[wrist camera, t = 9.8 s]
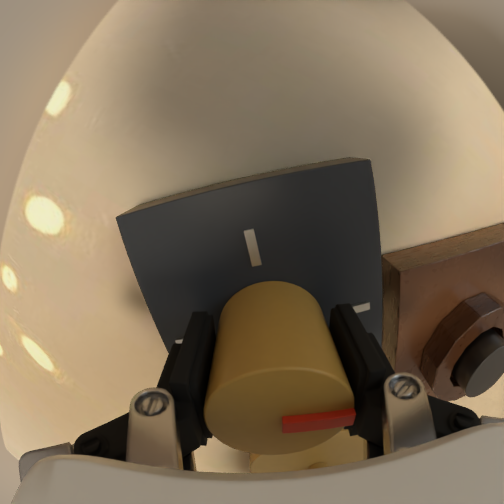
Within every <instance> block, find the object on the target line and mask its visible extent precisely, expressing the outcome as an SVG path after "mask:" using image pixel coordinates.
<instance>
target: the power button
mask: <svg viewBox="0 0 504 504" xmlns="http://www.w3.org/2000/svg"><path fill="white" fill-rule="evenodd" d="M503 373H504V339H503V338H502V337H501V336H500V335H499V334H498V333H497V332H496V331H495V330H494V329H488V330H486V331H484V332H482V333H481V334H480V335H479V336H478V337H477V338H475V339H474V340H473V341H472V342H471V343H470V344H469V345H468V346H467V347H466V348H465V350H464V351H463V353H462V354H461V356H460V357H459V359H458V360H457V361H456V363H455V364H454V366H453V370H452V375H453V377H454V378H455V380H456V381H457V383H458V384H459V385H460V387H461V388H462V390H463V391H464V393H465V394H466V396H468V397H475V396H478V395H480V394H482V393H484V392H485V391H486V390H488V389H489V388H490V387H491V386H492V385H494V384H495V383H496V381H497V380H498V379H499V378H500V377H501V376H502V374H503Z"/></svg>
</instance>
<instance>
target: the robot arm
mask: <svg viewBox="0 0 504 504" xmlns="http://www.w3.org/2000/svg"><path fill="white" fill-rule="evenodd" d="M329 330H330V333H331V335H332V338H333V341H334V343H335V346H336V349H337V351H338V354H339V357H340V359H341V362H342V365H343V367H344V370H345V373H346V375H347V378H348V381H349V384H350V387H351V389H352V392H353V396H354V409H355V412H356V417H355V420H354V423H353V425H350V426H345V427H344V429H348V431H349V434H350V436H355V435H358V436H359V437H361V438H363V439H364V441H363V460H362V461H357V462H352V463H347V464H341V465H336V466H329V467H323V468H315V469H307V470H298V471H286V472H270V473H213V472H197V470H196V464H195V457H194V450H196V449H197V448H199V447H200V445H205V446H206V444H207V438H212V436H213V434H212V433H211V432H210V431H209V429H208V428H207V426H206V424H205V421H204V417H203V408H204V402H205V397H206V391H207V385H208V380H209V374H210V369H211V363H212V357H213V352H214V347H215V341H216V333H215V326H214V319H213V315H208V312H207V311H194V312H192V315H191V318H190V321H189V324H188V326H187V329H186V332H185V335H184V338H183V341H182V343H174V344H173V345H172V347H171V350H170V352H169V355H168V358H167V360H166V363H165V366H164V369H163V371H162V374H161V377H160V379H159V382H158V385H157V388H147V389H144V390H142V391H140V392H138V393H137V394H136V395H135V396H134V397H133V398H132V400H131V403H130V410H129V413H127V414H125V415H122V416H120V417H118V418H116V419H114V420H112V421H110V422H108V423H106V424H103V425H101V426H99V427H97V428H95V429H92V430H90V431H88V432H86V433H84V434H82V435H80V436H79V437H78V438H77V440H76V441H75V443H74V444H73V445H71V444H70V443H69V442H68V443H64V444H60V445H56V446H51V447H47V448H42V449H38V450H33V451H29V452H26V453H25V454H24V455H22V456H21V458H20V460H19V472H20V480H21V484H20V486H19V488H18V489H17V492H16V494H15V496H14V498H13V500H12V502H11V504H504V419H503V418H495V417H488V416H481V418H478V416H477V415H476V413H474V412H473V411H472V410H470V409H468V408H465V407H462V406H459V405H456V404H453V403H450V402H447V401H444V400H441V399H438V398H436V397H433V396H430V395H427V393H426V390H425V386H424V384H423V382H422V380H421V379H420V378H419V377H417V376H415V375H414V374H410V373H406V372H399V373H395V371H394V370H393V368H392V366H391V364H390V362H389V361H388V359H387V357H386V355H385V353H384V352H383V350H382V348H381V346H380V345H379V343H378V341H377V339H376V338H375V336H374V334H373V333H371V332H370V333H367V332H366V330H365V328H364V326H363V324H362V323H361V321H360V319H359V317H358V316H357V314H356V312H355V310H354V309H353V307H352V305H351V304H350V303H346V304H336V306H335V308H332V309H331V312H330V323H329Z"/></svg>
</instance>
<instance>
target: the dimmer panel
mask: <svg viewBox="0 0 504 504" xmlns="http://www.w3.org/2000/svg"><path fill="white" fill-rule="evenodd" d="M116 221H117V224H118V227H119V230H120V233H121V236H122V239H123V242H124V245H125V248H126V251H127V254H128V257H129V259H130V262H131V265H132V268H133V270H134V273H135V276H136V278H137V281H138V284H139V286H140V289H141V291H142V294H143V296H144V299H145V301H146V304H147V306H148V308H149V311H150V313H151V315H152V318H153V320H154V322H155V325H156V327H157V329H158V331H159V334H160V336H161V338H162V340H163V342H164V345H165V347H166V349H167V351H168V353H169V352H170V350H171V347H172V345H173V344H174V343H182V341H183V338H184V335H185V332H186V329H187V326H188V324H189V321H190V318H191V315H192V312H194V311H207V312H208V315H213V319H214V326H215V333H216V336H217V330H218V325H219V320H220V316H221V313H222V310H223V308H224V306H225V305H226V303H227V302H228V301H229V300H230V299H231V297H233V296H234V295H235V294H236V293H237V292H239V291H240V290H242V289H244V288H246V287H248V286H250V285H253V284H256V283H260V282H265V281H282V282H287V283H291V284H294V285H297V286H299V287H301V288H303V289H305V290H306V291H307V292H309V293H310V294H311V295H312V296H313V297H314V298H315V299H316V301H317V302H318V304H319V306H320V307H321V310H322V312H323V315H324V317H325V320H326V323H327V325H328V328H329V323H330V312H331V309H332V308H335V306H336V304H346V303H350V304H351V305H352V307H353V309H354V310H355V312H356V314H357V316H358V317H359V319H360V321H361V323H362V324H363V326H364V328H365V330H366V332H367V333H370V332H371V333H373V334H374V336H375V338H376V339H377V341H378V343H379V345H380V346H381V348H382V318H383V294H382V262H381V245H380V232H379V220H378V210H377V201H376V193H375V186H374V178H373V172H372V165H371V160H370V159H361V158H350V157H349V158H342V159H336V160H330V161H324V162H318V163H312V164H307V165H301V166H296V167H291V168H286V169H281V170H276V171H271V172H266V173H261V174H257V175H252V176H248V177H243V178H239V179H235V180H230V181H226V182H222V183H218V184H214V185H210V186H206V187H202V188H198V189H194V190H190V191H187V192H183V193H179V194H176V195H172V196H168V197H165V198H161V199H158V200H154V201H151V202H148V203H144V204H141V205H138V206H136V207H134V208H132V209H130V210H128V211H127V212H125V213H123V214H121V215H119V216H117V217H116Z"/></svg>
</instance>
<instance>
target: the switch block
mask: <svg viewBox="0 0 504 504" xmlns="http://www.w3.org/2000/svg"><path fill="white" fill-rule="evenodd" d="M382 280H383V331H382V350H383V352H384V353H385V355H386V357H387V359H388V361H389V362H390V364H391V366H392V368H393V370H394V371H395V373H399V372H406V373H410V374H414V375H415V376H417V377H419V378H420V379H421V380H422V382H423V384H424V386H425V390H426V393H427V395H430V396H433V397H436V398H438V399H441V400H444V401H447V402H448V401H450V400H457V399H459V398H461V397H463V396H465V395H466V394H465V393H464V391H463V390H462V388H461V387H460V385H459V384H458V383H457V381H456V380H455V378H454V377H453V375H452V370H453V366H454V364H455V363H456V361H457V360H458V359H459V357H460V356H461V354H462V353H463V351H464V350H465V348H466V347H467V346H468V345H469V344H470V343H471V342H472V341H473V340H474V339H475V338H477V337H478V336H479V335H480V334H481V333H482V332H484V331H486V330H488V329H494V330H495V331H496V332H497V333H498V334H499V335H500V336H501V337H502V338H503V339H504V223H502V224H498V225H495V226H491V227H488V228H484V229H481V230H477V231H474V232H470V233H466V234H463V235H459V236H455V237H451V238H448V239H444V240H440V241H436V242H432V243H429V244H425V245H421V246H417V247H413V248H409V249H405V250H401V251H397V252H393V253H388V254H384V255H382Z"/></svg>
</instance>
